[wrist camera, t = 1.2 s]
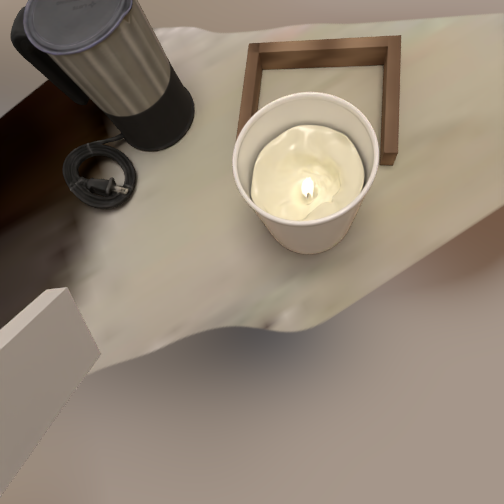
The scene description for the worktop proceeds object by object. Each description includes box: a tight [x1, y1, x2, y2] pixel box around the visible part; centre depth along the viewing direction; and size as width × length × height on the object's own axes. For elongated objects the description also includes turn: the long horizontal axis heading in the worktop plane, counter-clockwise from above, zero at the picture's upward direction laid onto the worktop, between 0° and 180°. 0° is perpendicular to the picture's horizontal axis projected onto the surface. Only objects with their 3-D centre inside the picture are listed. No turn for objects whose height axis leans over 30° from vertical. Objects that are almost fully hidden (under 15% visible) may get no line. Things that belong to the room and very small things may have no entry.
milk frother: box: [11, 0, 194, 209], centre depth 34 cm, size 14×16×15 cm
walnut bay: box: [236, 35, 401, 165], centre depth 37 cm, size 15×13×2 cm
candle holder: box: [232, 92, 379, 254], centre depth 30 cm, size 10×10×12 cm
